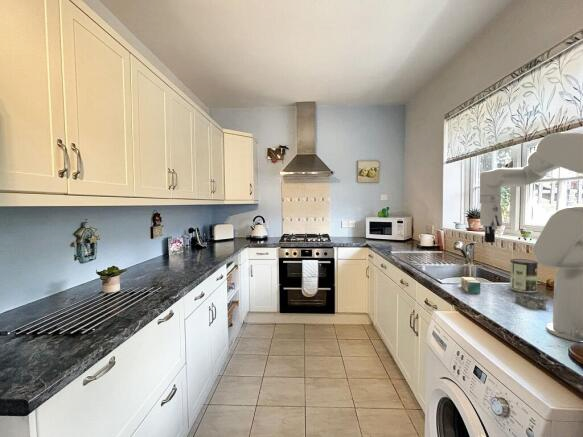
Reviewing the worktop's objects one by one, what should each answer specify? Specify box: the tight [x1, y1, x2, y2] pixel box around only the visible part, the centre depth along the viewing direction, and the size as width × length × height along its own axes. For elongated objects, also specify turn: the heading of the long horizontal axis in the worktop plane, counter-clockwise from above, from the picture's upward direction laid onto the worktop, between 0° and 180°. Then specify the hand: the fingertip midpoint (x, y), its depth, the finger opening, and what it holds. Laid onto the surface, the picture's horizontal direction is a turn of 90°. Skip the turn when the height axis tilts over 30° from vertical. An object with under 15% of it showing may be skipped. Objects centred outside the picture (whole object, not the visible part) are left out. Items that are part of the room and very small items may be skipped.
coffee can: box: [509, 258, 539, 294], centre depth 138 cm, size 10×10×14 cm
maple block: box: [460, 276, 481, 294], centre depth 139 cm, size 5×5×10 cm
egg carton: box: [512, 292, 549, 310], centre depth 119 cm, size 11×8×4 cm
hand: (489, 242), depth 124 cm, fingers closed
